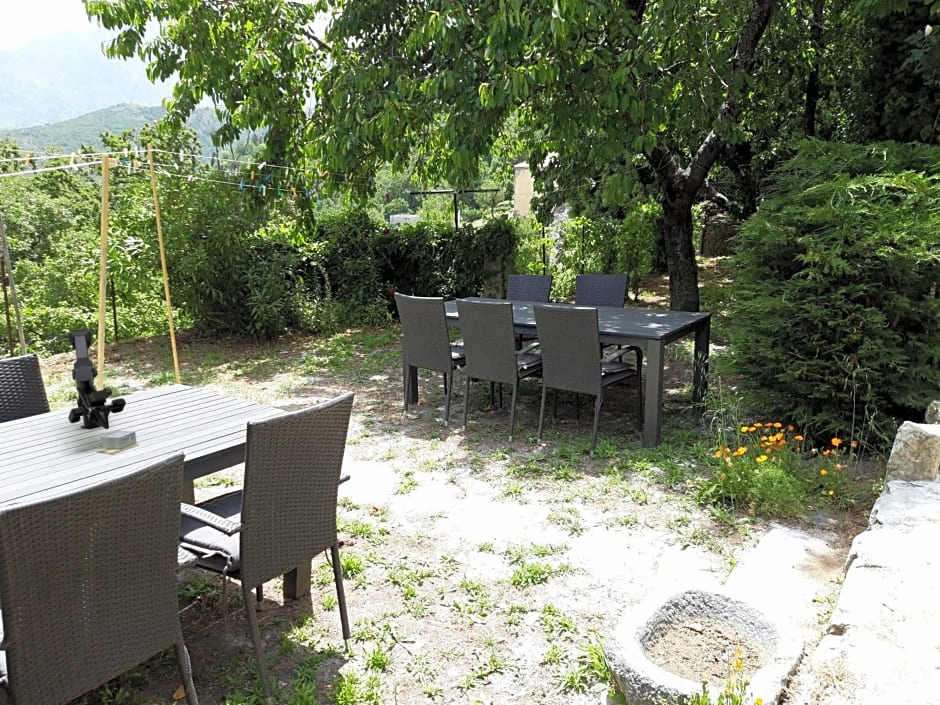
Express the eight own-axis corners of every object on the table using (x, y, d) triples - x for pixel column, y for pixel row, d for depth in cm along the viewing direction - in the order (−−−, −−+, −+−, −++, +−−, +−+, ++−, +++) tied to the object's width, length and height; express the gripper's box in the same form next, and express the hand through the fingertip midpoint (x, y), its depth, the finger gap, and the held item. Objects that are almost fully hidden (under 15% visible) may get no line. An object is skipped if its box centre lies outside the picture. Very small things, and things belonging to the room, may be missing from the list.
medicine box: (101, 447, 250) (120, 449, 247) (99, 436, 249) (118, 437, 246) (118, 441, 257) (137, 443, 254) (117, 429, 256) (135, 431, 253)
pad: (96, 452, 247) (96, 450, 247) (123, 442, 257) (123, 441, 257) (112, 454, 244) (111, 453, 243) (138, 445, 253) (138, 443, 253)
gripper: (67, 387, 243) (86, 421, 239) (120, 376, 258) (139, 409, 253) (60, 405, 249) (78, 440, 245) (112, 394, 264) (131, 426, 259)
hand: (107, 428), depth 250 cm, fingers closed
